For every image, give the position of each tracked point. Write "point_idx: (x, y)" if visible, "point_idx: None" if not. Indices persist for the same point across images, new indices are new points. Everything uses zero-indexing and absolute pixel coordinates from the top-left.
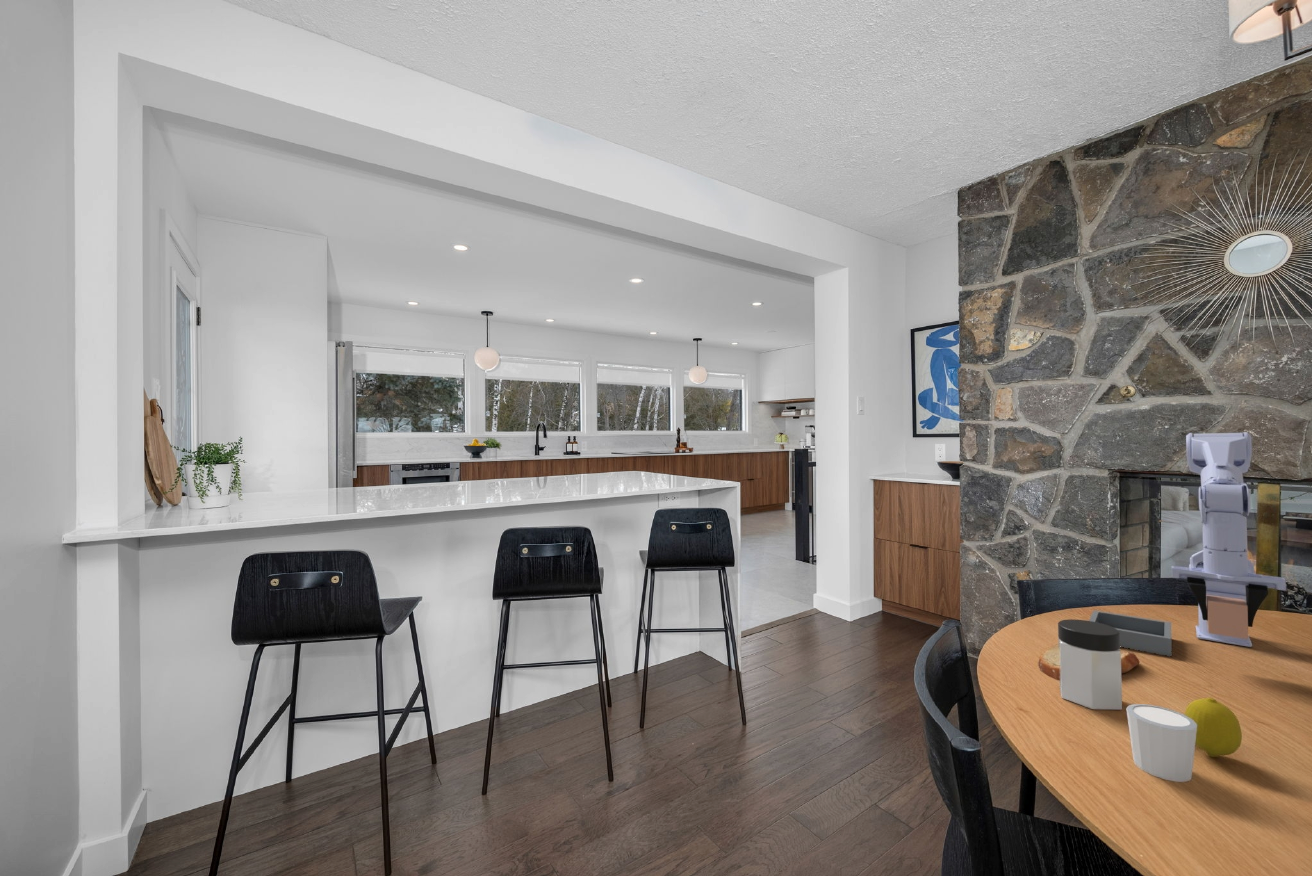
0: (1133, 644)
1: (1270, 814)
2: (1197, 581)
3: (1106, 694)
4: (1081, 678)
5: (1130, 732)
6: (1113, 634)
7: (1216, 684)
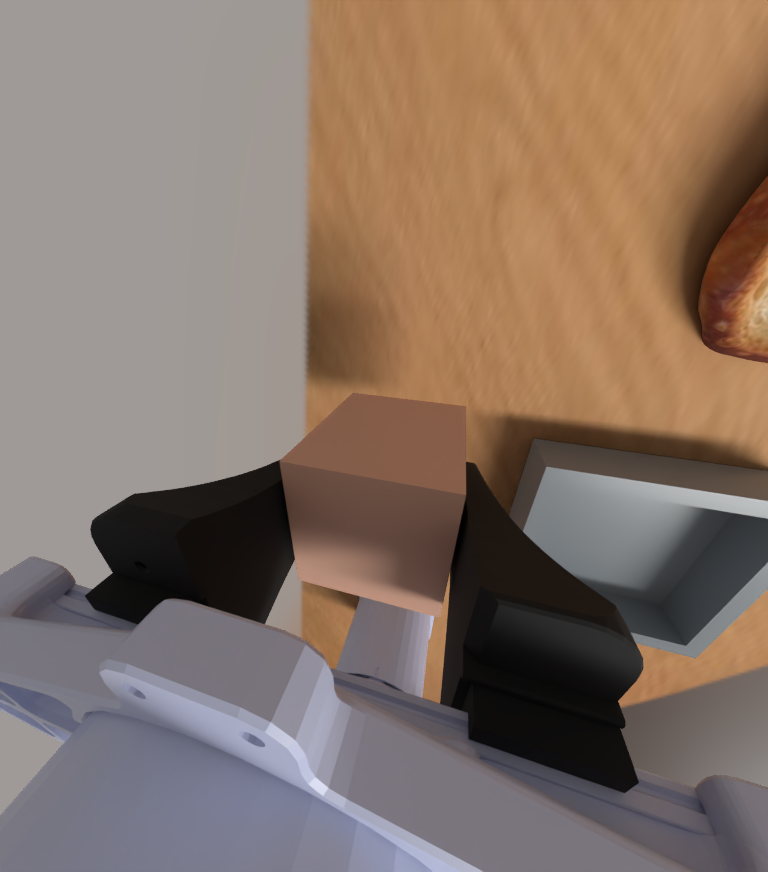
0: (639, 459)
1: None
2: (530, 696)
3: None
4: None
5: None
6: None
7: (476, 232)
